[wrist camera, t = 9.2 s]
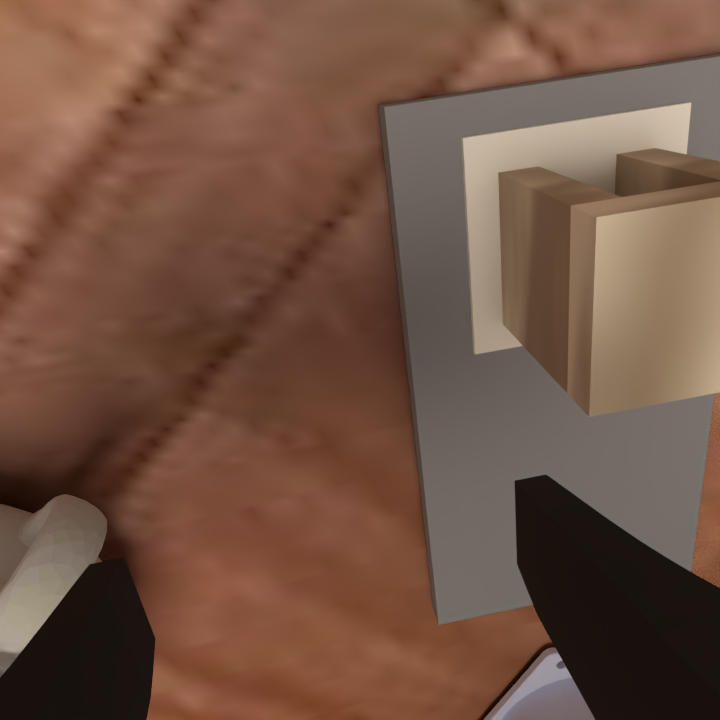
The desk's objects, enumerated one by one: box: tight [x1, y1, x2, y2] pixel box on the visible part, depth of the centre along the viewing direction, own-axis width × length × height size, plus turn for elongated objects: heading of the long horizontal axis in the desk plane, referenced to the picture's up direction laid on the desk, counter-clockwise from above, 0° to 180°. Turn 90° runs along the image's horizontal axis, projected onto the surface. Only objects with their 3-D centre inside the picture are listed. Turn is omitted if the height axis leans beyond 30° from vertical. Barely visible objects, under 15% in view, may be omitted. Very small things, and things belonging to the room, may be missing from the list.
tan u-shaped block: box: [498, 148, 720, 417], centre depth 17 cm, size 5×5×6 cm
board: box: [378, 54, 720, 625], centre depth 22 cm, size 20×11×1 cm, turn 7°
